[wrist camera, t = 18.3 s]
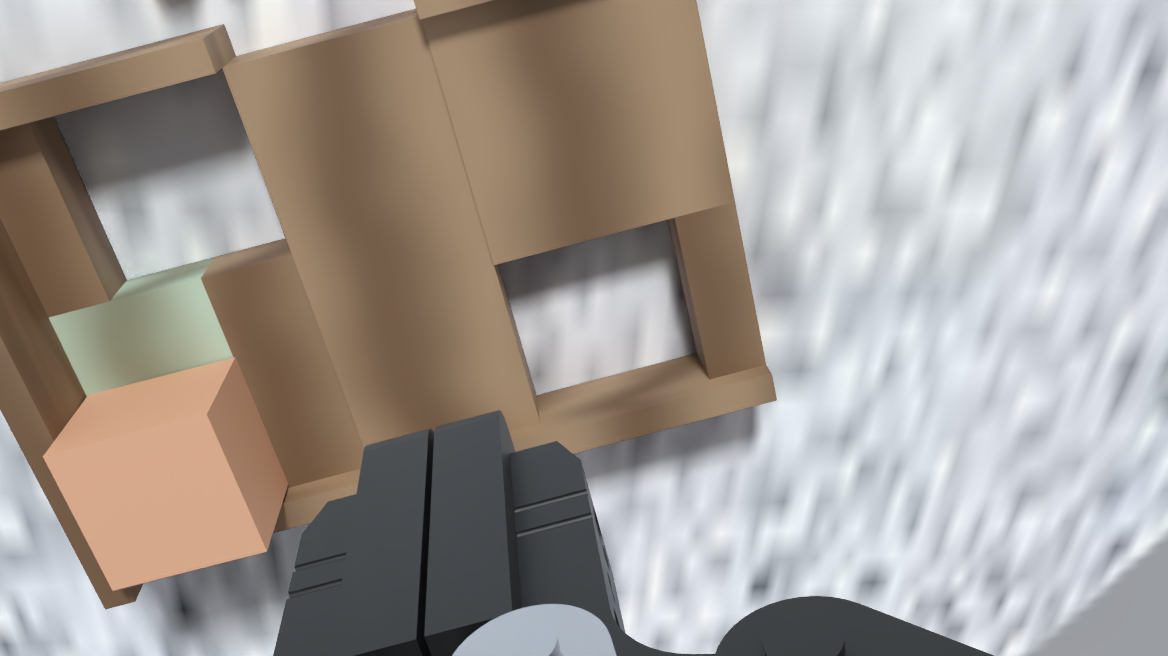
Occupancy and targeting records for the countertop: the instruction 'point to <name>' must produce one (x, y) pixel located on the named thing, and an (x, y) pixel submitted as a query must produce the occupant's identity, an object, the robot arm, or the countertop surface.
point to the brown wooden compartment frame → (387, 235)
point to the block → (170, 474)
